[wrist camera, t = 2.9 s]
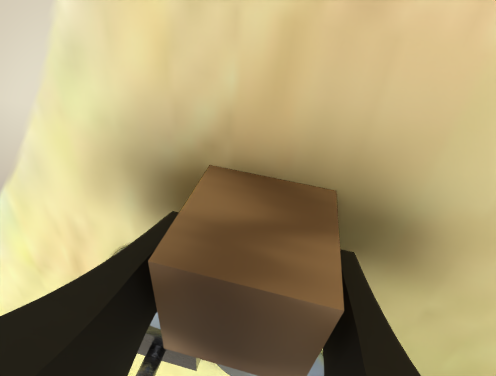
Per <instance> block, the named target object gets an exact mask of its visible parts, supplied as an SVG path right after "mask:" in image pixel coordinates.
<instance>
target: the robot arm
mask: <svg viewBox="0 0 496 376" xmlns="http://www.w3.org/2000/svg"><path fill="white" fill-rule="evenodd" d="M178 214H179V212H174V211H172V212H171V213H169V214H168V215H167V216H166V217H164V218H163V219H162V220H161V221H159V222H158V223H157V224H156V225H154V226H153V227H152V228H151V229H149V230H148V231H147V232H146V233H144V234H143V235H142V236H140V237H139V238H138V239H136V240H135V241H134V242H132V243H131V244H130V245H128V246H127V247H125V248H124V249H123V250H121V251H120V252H118V253H117V254H115V255H114V256H112V257H111V258H109V259H108V260H106V261H105V262H103V263H102V264H100V265H99V266H97V267H95V268H94V269H92V270H91V271H89V272H87V273H86V274H84V275H82V276H80V277H79V278H77V279H75V280H74V281H72V282H70V283H68V284H66V285H64V286H62V287H61V288H59V289H57V290H55V291H53V292H51V293H49V294H47V295H45V296H43V297H41V298H39V299H37V300H35V301H33V302H31V303H29V304H26V305H24V306H22V307H20V308H18V309H16V310H13V311H11V312H9V313H7V314H5V315H2V316H0V376H128V373H129V371H130V368H131V366H132V364H133V361H134V359H135V357H136V354H137V352H138V350H139V348H140V345H141V343H142V341H143V338H144V336H145V334H146V332H147V330H148V328H149V326H150V324H151V322H152V320H153V318H154V316H155V315H156V313H157V307H156V302H155V296H154V291H153V286H152V280H151V275H150V270H149V264H148V260H149V259H150V257H151V256H152V254H153V252H154V251H155V249H156V248H157V246H158V245H159V243H160V242H161V240H162V238H163V237H164V235H165V234H166V232H167V231H168V229H169V228H170V226H171V224H172V223H173V221H174V220H175V218H176V217H177V215H178ZM340 255H341V271H342V286H343V301H344V312H343V314H342V315H341V317H340V319H339V321H338V322H337V324H336V326H335V328H334V329H333V331H332V333H331V335H330V336H329V338H328V340H327V342H326V343H325V345H324V347H323V358H324V376H421V375H420V374H419V372H418V371H417V369H416V368H415V366H414V365H413V363H412V362H411V360H410V359H409V357H408V355H407V354H406V352H405V351H404V349H403V347H402V346H401V344H400V342H399V341H398V339H397V337H396V336H395V334H394V332H393V330H392V329H391V327H390V325H389V323H388V322H387V320H386V318H385V316H384V314H383V312H382V310H381V308H380V306H379V305H378V303H377V301H376V299H375V297H374V295H373V293H372V291H371V289H370V287H369V284H368V282H367V280H366V278H365V276H364V274H363V271H362V269H361V267H360V265H359V262H358V260H357V258H356V255H355V254H354V252H349V251H345V250H341V249H340Z"/></svg>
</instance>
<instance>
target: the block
mask: <svg viewBox="0 0 496 376" xmlns="http://www.w3.org/2000/svg"><path fill="white" fill-rule="evenodd" d="M148 264H149V270H150V275H151V280H152V286H153V291H154V296H155V302H156V307H157V313H158V318H159V323H160V329H161V334H162V339H163V345H164V348H165V349H168V350H171V351H175V352H178V353H182V354H185V355H189V356H192V357H196V358H199V359H202V360H206V361H209V362H213V363H216V364H220V365H223V366H227V367H230V368H233V369H237V370H240V371H244V372H247V373H251V374H254V375H258V376H307V375H308V373H309V371H310V370H311V368H312V366H313V364H314V363H315V361H316V359H317V357H318V356H319V354H320V352H321V350H322V349H323V347H324V345H325V343H326V342H327V340H328V338H329V336H330V335H331V333H332V331H333V329H334V328H335V326H336V324H337V322H338V321H339V319H340V317H341V315H342V314H343V312H344V301H343V286H342V271H341V255H340V240H339V225H338V209H337V194H336V191H334V190H330V189H325V188H320V187H315V186H310V185H305V184H300V183H295V182H290V181H286V180H281V179H276V178H271V177H266V176H261V175H256V174H251V173H246V172H242V171H237V170H232V169H227V168H222V167H217V166H212V165H209V167H208V169H207V170H206V172H205V173H204V175H203V176H202V178H201V179H200V181H199V182H198V184H197V186H196V187H195V189H194V190H193V192H192V193H191V195H190V196H189V198H188V200H187V201H186V203H185V204H184V206H183V207H182V209H181V210H180V212H179V214H178V215H177V217H176V218H175V220H174V221H173V223H172V224H171V226H170V228H169V229H168V231H167V232H166V234H165V235H164V237H163V238H162V240H161V242H160V243H159V245H158V246H157V248H156V249H155V251H154V252H153V254H152V256H151V257H150V259H149V260H148Z"/></svg>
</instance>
